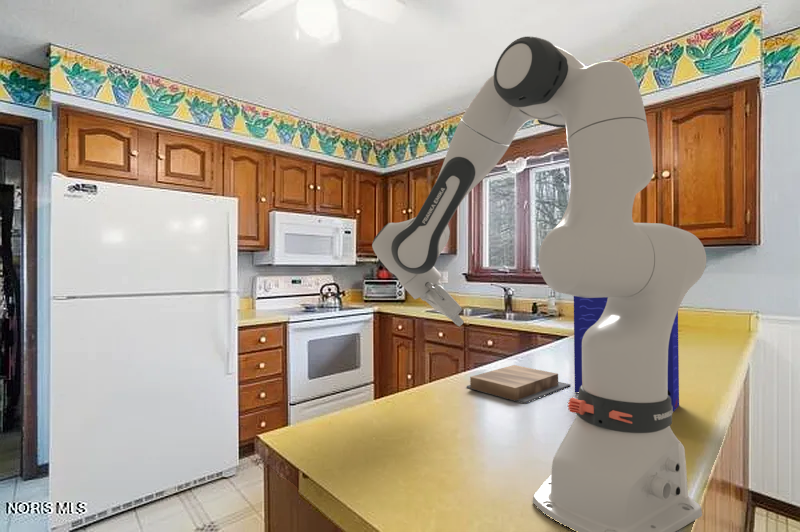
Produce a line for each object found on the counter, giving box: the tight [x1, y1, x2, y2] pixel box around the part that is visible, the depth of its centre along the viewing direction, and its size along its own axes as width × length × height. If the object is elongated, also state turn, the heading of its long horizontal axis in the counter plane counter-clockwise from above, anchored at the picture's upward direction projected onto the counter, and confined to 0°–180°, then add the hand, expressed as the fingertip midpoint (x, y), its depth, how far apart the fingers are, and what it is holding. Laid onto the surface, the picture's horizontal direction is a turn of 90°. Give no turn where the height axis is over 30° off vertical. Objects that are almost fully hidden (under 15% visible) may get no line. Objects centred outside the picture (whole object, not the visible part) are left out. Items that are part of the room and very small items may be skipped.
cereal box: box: [573, 296, 680, 413], centre depth 103 cm, size 22×6×30 cm, turn 46°
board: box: [469, 364, 559, 401], centre depth 112 cm, size 3×14×20 cm
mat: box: [466, 381, 571, 404], centre depth 113 cm, size 22×18×1 cm
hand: (460, 323), depth 102 cm, fingers closed
